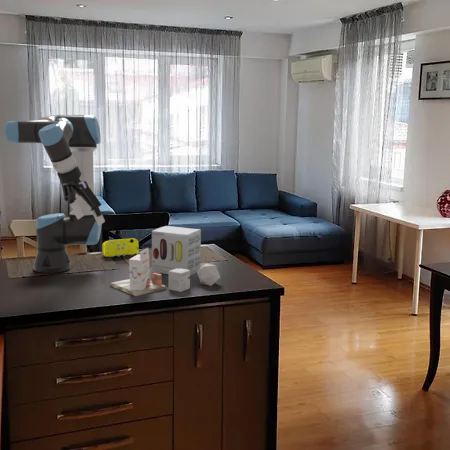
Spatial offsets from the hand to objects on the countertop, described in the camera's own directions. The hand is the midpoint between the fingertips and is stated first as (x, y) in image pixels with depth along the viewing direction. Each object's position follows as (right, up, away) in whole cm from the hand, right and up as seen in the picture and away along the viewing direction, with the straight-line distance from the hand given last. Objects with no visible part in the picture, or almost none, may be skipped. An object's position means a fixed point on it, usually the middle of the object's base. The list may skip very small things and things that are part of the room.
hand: (91, 220), depth 210 cm
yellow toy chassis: (-1, -16, +65) cm, 67 cm away
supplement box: (+28, -22, +38) cm, 52 cm away
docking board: (+15, -26, +14) cm, 33 cm away
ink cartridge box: (+16, -25, +9) cm, 31 cm away
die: (+42, -25, +20) cm, 53 cm away
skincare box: (+31, -26, +13) cm, 42 cm away
